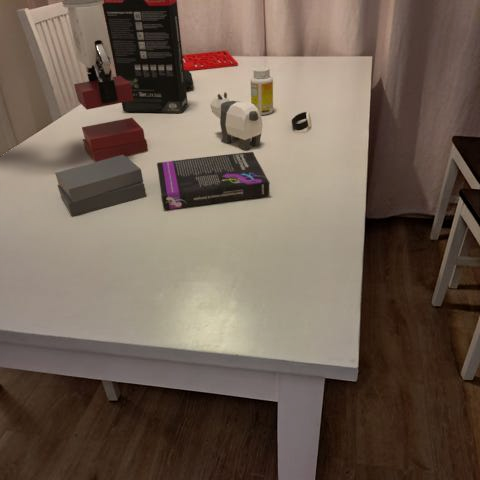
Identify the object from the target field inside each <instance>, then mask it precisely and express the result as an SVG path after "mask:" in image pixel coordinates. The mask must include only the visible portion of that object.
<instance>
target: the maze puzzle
mask: <svg viewBox="0 0 480 480" xmlns="http://www.w3.org/2000/svg"><path fill="white" fill-rule="evenodd" d="M182 55H183V64H184V70H188V71H195V70H205V69H214V68H223V67H233V66H238V65H239V63H238V61H237V60H236V59H235V58H234V57H233V55H231V54H230V53H229V51H227V50H218V51H209V52H208V51H207V52H199V53H190V54H189V53H188V54H182Z"/></svg>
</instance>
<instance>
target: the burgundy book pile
mask: <svg viewBox="0 0 480 480" xmlns="http://www.w3.org/2000/svg"><path fill="white" fill-rule="evenodd" d="M81 130H82V134H83V139H82V143H83V146H84V150H85V152H86V153H87V154H88V155H89V157H90V158H91V159H92V161H93V163H94V162H97V161H101V160H105V159H109V158H112V157H116V156H120V155H125V156H126V157H128V156H133V155H138V154H142V153H146V152H149V147H148V142H147V139H146V138H145V132H144V128H143V127H142V126H141V125H140V124H139V123H138V121H136V120H135V119H134V118H133V117H129V118H122V119H117V120H113V121H107V122H101V123H98V124H97V123H96V124H91V125H87V126H81Z"/></svg>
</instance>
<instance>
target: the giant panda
mask: <svg viewBox="0 0 480 480" xmlns="http://www.w3.org/2000/svg"><path fill="white" fill-rule="evenodd" d="M209 105H210V106H209V107H210V109H211V113H212V114H213V115H214V116H215V117H216V118H218V119H219V120H220V122H219V124H220V130H221V136H222V137H221V140H220V141H221V143H224V144H231V143H232V142H233V140H232V138H233V139H235V140H236V139H237V140H239V141H240V144H239V146H238V148H239V149H241V150H244V151H247V150H249V149H250V148H251V147H250V145H251V146H255V147H257V146H259V145H261V137H262V132H263V118H262V115H261V114H260V112H259V110H258V109H257V107H256V106H255V105H254V104H252V103H251V102H249V101H237V100H230V99H229V98H228V93H227V92H226V91H224V93H223V95H221V94H220V93H218V94H217V96H216V97H214V98H213V101H212V102H210V104H209Z"/></svg>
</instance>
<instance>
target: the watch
mask: <svg viewBox="0 0 480 480" xmlns="http://www.w3.org/2000/svg"><path fill="white" fill-rule="evenodd" d="M303 120H304V121H303ZM301 121H302V122H301ZM291 125H292V128H293V130H294V131H304V130H305V129H307V128H311V127H312V118H311V114H310V112H309V111H308V110H307V111H303V112H299V113H298V114H296V115H295V116H294V117H293V118H292V119H291Z"/></svg>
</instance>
